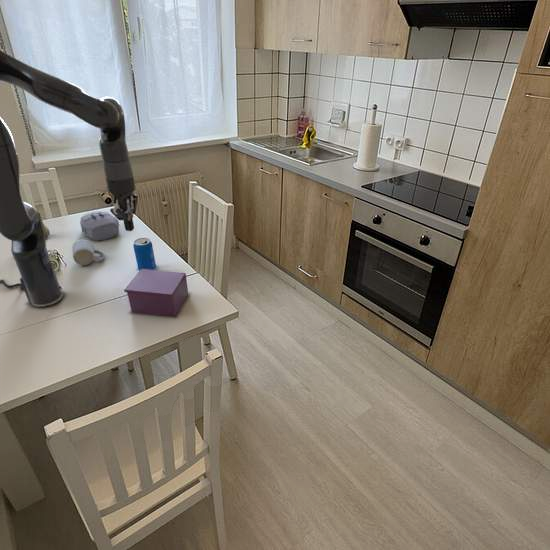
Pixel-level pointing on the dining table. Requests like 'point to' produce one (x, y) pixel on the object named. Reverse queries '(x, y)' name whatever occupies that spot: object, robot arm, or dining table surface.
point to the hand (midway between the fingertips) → (130, 230)
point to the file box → (159, 301)
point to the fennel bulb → (43, 226)
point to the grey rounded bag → (99, 225)
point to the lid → (155, 282)
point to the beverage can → (144, 254)
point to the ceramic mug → (85, 252)
